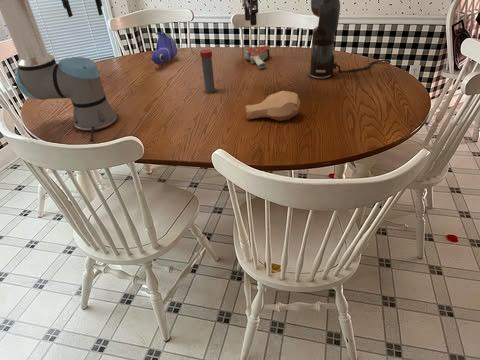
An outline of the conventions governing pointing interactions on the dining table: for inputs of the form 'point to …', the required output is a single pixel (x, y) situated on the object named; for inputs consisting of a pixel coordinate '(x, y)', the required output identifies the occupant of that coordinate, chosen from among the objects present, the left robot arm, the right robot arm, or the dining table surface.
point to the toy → (164, 49)
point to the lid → (206, 53)
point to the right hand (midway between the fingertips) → (250, 22)
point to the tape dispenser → (257, 55)
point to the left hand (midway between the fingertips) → (85, 15)
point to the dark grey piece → (208, 75)
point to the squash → (275, 106)
